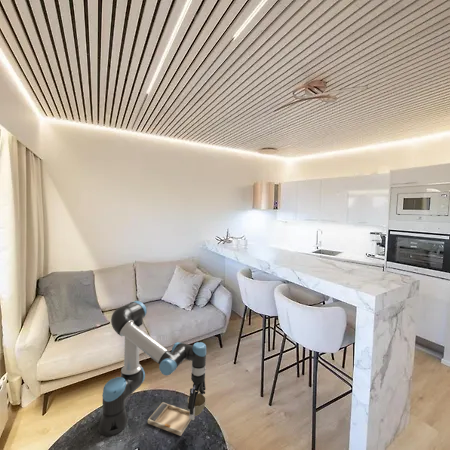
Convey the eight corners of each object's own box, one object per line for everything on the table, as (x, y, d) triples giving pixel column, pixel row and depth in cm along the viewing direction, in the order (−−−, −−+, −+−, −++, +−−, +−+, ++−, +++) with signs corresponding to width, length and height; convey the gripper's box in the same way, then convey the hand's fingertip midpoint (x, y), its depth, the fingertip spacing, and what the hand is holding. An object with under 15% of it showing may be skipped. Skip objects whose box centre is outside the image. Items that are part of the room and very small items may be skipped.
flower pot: (202, 421, 129) (202, 408, 129) (184, 417, 131) (184, 404, 131) (207, 407, 139) (207, 395, 139) (190, 403, 141) (191, 391, 141)
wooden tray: (147, 423, 139) (147, 418, 138) (162, 405, 152) (162, 401, 152) (180, 436, 131) (180, 431, 131) (193, 416, 145) (193, 411, 145)
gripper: (195, 387, 123) (192, 430, 123) (212, 363, 144) (210, 400, 144) (182, 382, 125) (179, 425, 126) (201, 359, 146) (199, 396, 147)
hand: (196, 411), depth 135 cm, fingers closed on flower pot, 10 cm apart
